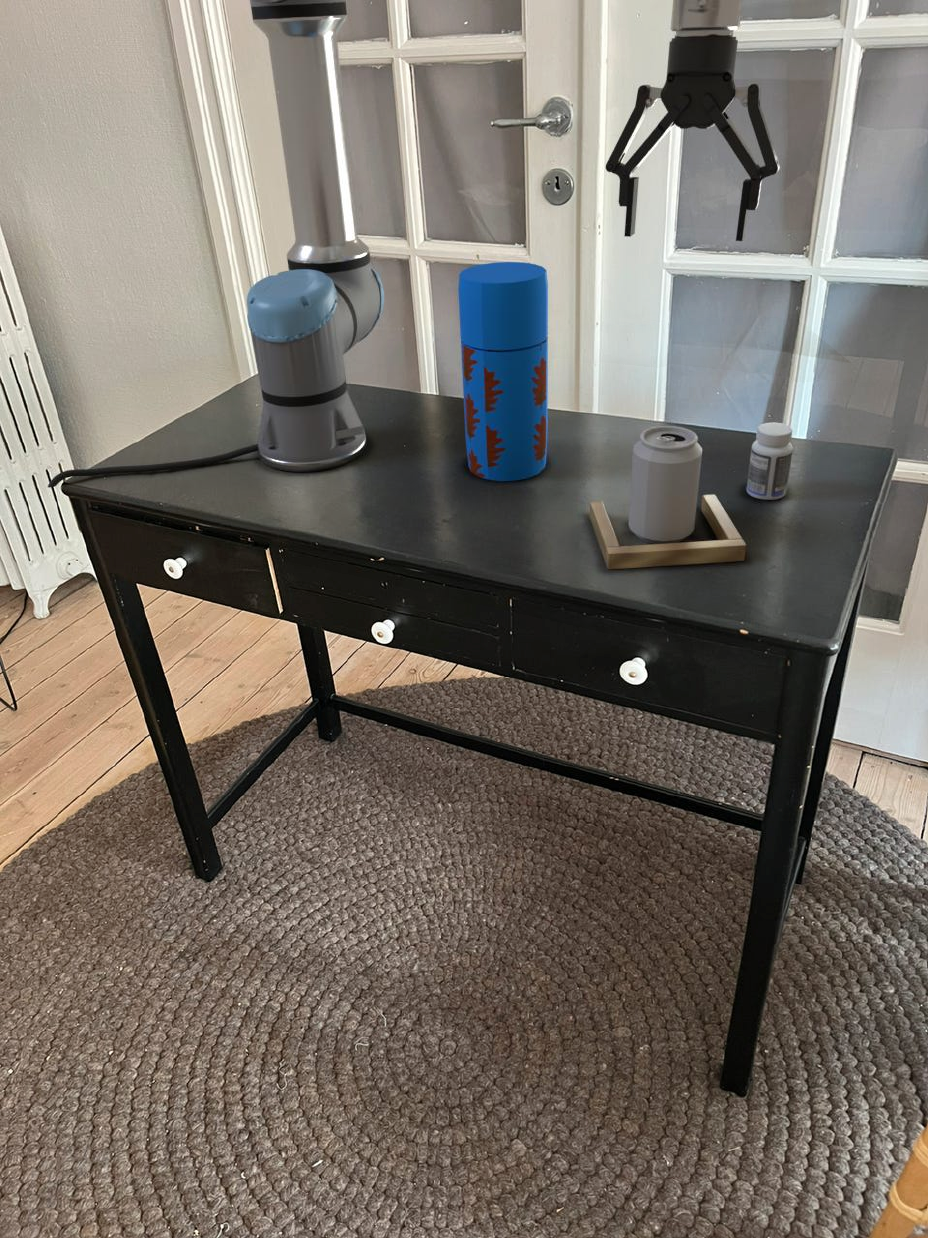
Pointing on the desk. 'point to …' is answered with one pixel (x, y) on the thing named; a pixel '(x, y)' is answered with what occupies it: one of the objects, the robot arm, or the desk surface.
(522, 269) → the thermos
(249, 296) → the robot arm
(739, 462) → the desk surface
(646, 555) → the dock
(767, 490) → the pill bottle
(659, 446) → the can
